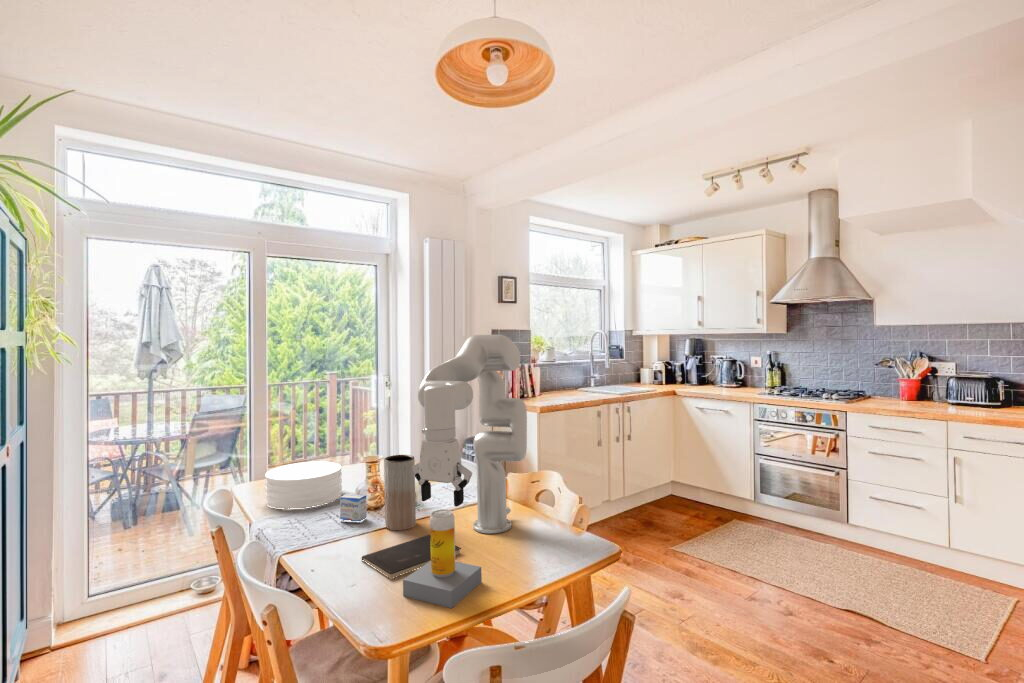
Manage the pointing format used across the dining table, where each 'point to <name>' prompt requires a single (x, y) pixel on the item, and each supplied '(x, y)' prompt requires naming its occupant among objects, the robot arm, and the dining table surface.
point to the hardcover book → (402, 557)
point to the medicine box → (353, 507)
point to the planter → (399, 492)
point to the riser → (442, 584)
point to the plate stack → (303, 484)
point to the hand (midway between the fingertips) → (442, 502)
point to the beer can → (442, 543)
